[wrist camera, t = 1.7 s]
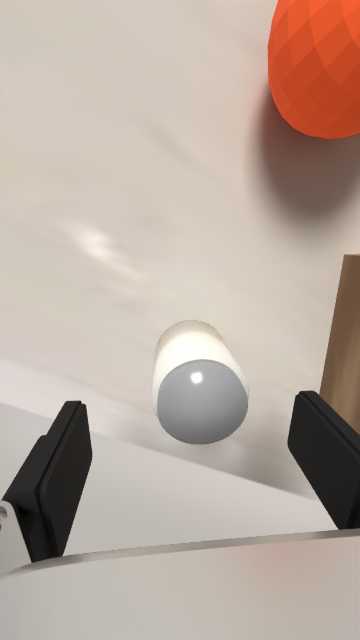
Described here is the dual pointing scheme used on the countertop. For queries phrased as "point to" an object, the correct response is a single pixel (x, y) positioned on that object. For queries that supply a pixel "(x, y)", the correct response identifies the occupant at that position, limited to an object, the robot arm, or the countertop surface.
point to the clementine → (316, 66)
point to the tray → (345, 347)
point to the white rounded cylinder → (197, 384)
